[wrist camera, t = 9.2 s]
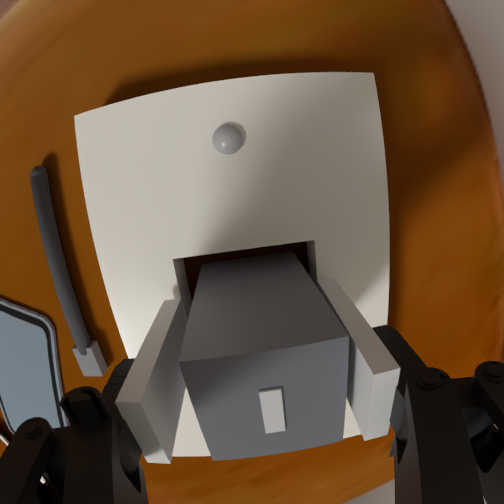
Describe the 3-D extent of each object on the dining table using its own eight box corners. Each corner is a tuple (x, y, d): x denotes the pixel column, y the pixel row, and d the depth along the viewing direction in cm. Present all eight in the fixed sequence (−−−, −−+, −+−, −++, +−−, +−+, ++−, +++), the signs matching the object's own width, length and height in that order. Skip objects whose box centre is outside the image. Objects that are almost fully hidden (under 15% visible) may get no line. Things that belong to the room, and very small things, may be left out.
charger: (202, 263, 15) (177, 363, 8) (292, 250, 15) (349, 337, 8) (217, 341, 16) (213, 462, 9) (299, 329, 17) (343, 442, 9)
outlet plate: (93, 120, 13) (72, 115, 11) (357, 82, 13) (374, 72, 11) (176, 435, 19) (171, 457, 17) (364, 411, 19) (373, 432, 17)
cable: (33, 168, 14) (22, 170, 13) (52, 162, 14) (42, 162, 13) (89, 367, 17) (83, 377, 16) (107, 367, 17) (102, 377, 16)
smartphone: (52, 320, 16) (76, 463, 19) (59, 314, 17) (79, 455, 20) (-27, 289, 15) (9, 433, 19) (-19, 285, 16) (13, 427, 19)
